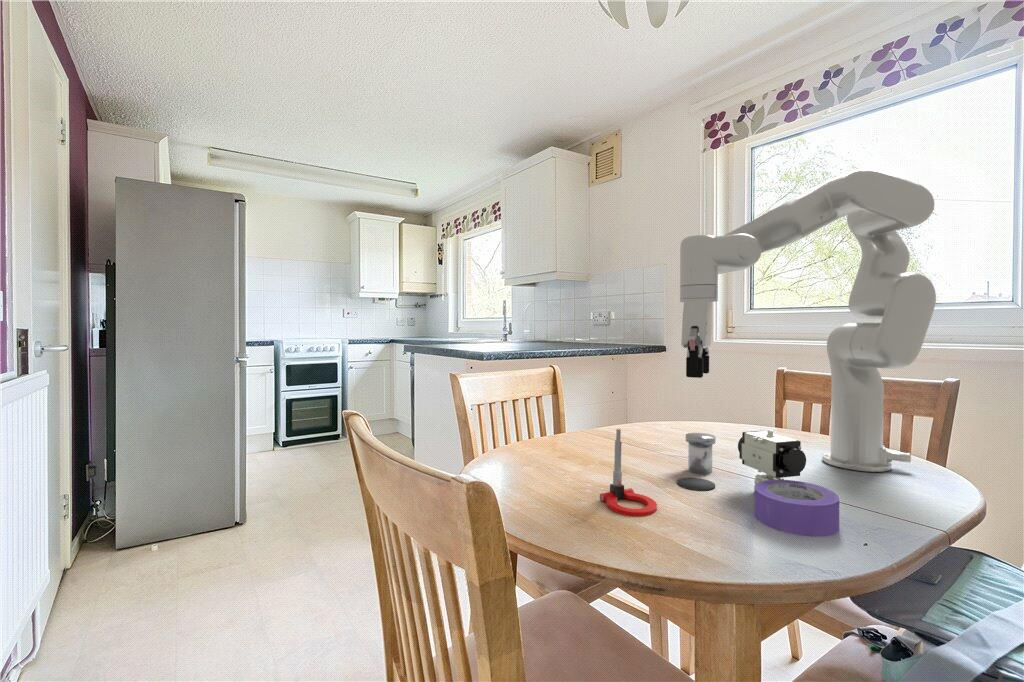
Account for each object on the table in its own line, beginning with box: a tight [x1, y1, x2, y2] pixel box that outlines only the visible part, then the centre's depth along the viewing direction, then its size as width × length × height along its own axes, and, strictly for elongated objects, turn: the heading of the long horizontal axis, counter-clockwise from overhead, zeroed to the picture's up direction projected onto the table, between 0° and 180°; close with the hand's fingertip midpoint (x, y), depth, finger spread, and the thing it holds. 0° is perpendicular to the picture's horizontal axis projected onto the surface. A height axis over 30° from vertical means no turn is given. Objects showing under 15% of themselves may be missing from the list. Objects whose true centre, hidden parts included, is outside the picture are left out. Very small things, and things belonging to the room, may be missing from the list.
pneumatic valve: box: [737, 429, 807, 485], centre depth 88 cm, size 6×12×12 cm, turn 15°
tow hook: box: [599, 428, 658, 517], centre depth 83 cm, size 8×13×9 cm
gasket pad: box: [676, 477, 716, 492], centre depth 95 cm, size 7×7×1 cm
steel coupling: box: [685, 432, 717, 475], centre depth 104 cm, size 6×6×8 cm
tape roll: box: [753, 479, 840, 538], centre depth 77 cm, size 12×12×5 cm
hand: (698, 375), depth 103 cm, fingers open, 9 cm apart
